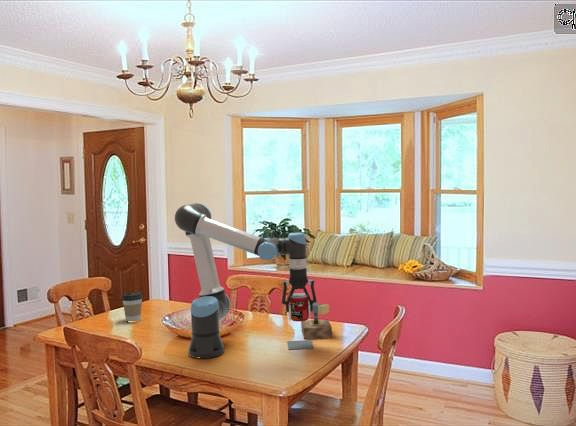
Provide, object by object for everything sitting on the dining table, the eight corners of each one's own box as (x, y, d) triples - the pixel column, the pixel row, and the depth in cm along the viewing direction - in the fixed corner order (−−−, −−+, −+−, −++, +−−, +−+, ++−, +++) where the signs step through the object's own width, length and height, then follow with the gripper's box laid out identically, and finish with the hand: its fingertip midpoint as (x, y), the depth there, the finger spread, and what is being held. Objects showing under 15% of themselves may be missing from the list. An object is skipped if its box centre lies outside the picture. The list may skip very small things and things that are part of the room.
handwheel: (303, 321, 241) (302, 303, 241) (310, 319, 245) (309, 301, 244) (322, 326, 233) (321, 307, 232) (329, 323, 236) (329, 304, 236)
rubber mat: (288, 349, 218) (288, 349, 218) (287, 341, 229) (287, 341, 229) (313, 348, 219) (313, 347, 218) (311, 340, 229) (311, 339, 229)
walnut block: (304, 339, 232) (303, 327, 232) (301, 330, 245) (301, 320, 245) (331, 337, 233) (331, 326, 233) (328, 329, 246) (327, 318, 246)
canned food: (287, 319, 223) (286, 295, 222) (299, 315, 228) (298, 292, 228) (300, 322, 217) (299, 297, 217) (312, 318, 223) (311, 294, 223)
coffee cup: (128, 318, 279) (126, 291, 278) (147, 318, 277) (146, 291, 276) (118, 323, 267) (117, 296, 267) (138, 324, 266) (137, 296, 265)
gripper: (274, 270, 217) (276, 322, 219) (322, 268, 218) (324, 319, 220) (274, 267, 225) (276, 317, 226) (320, 265, 226) (321, 315, 227)
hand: (299, 318), depth 223 cm, fingers closed on canned food, 8 cm apart
